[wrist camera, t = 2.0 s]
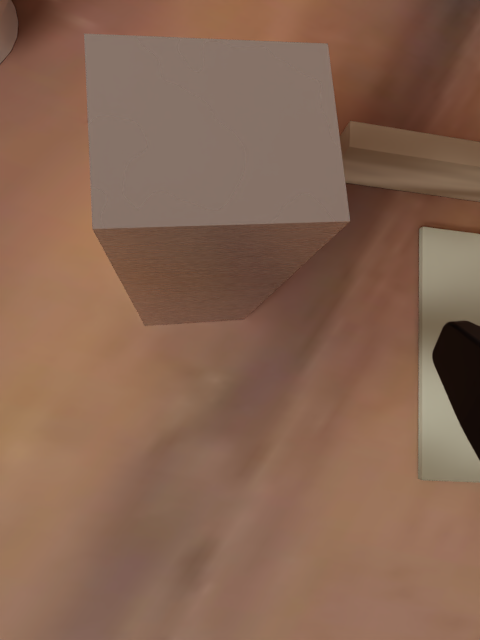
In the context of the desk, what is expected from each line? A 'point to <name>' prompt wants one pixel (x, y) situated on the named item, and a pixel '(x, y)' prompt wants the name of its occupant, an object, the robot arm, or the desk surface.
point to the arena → (430, 268)
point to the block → (211, 168)
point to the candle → (7, 27)
